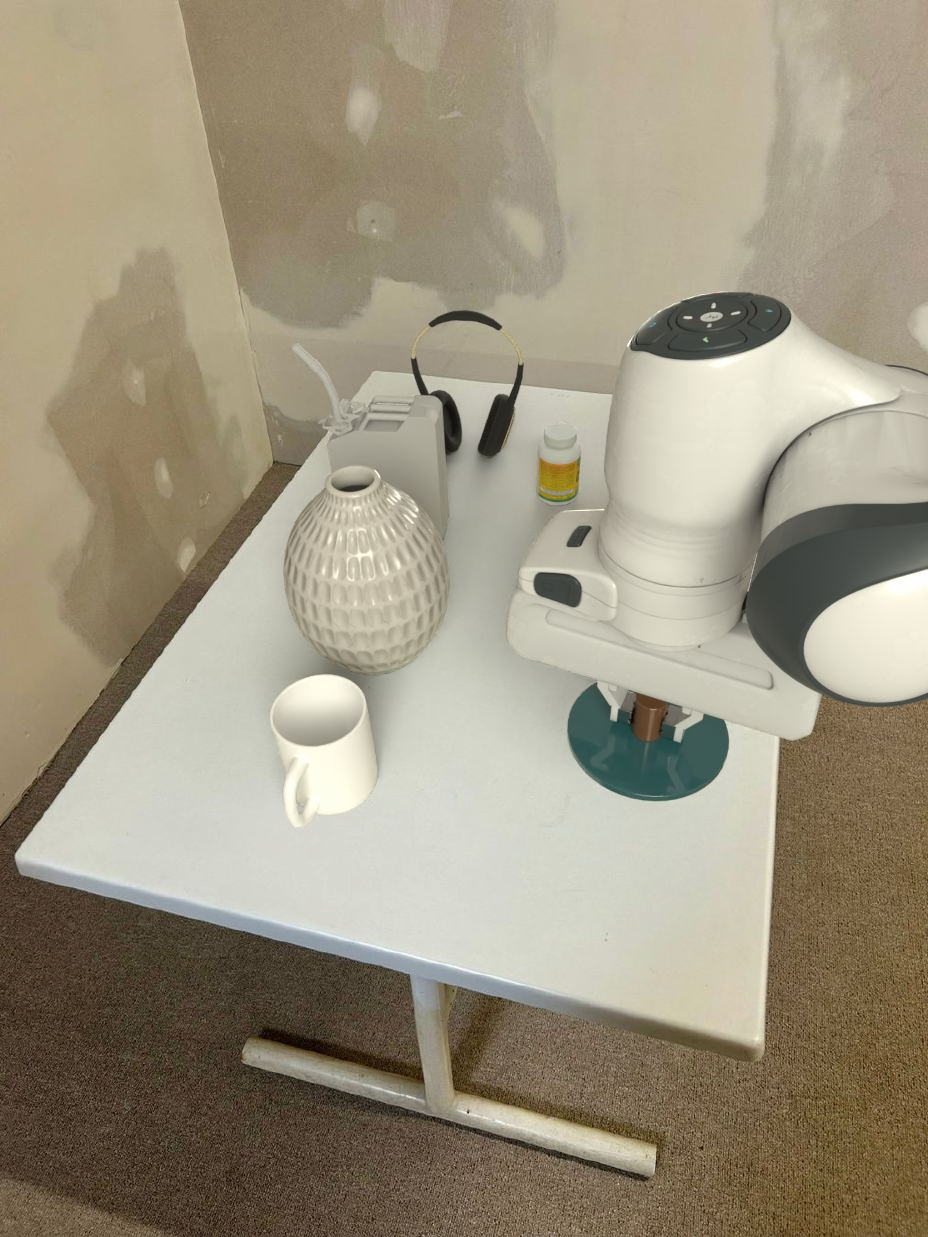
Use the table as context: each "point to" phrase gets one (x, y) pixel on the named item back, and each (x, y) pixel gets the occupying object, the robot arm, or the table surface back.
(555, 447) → the supplement bottle
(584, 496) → the table surface
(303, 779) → the cup
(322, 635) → the vase
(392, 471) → the fuel canister
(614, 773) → the lid
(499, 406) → the headphones
